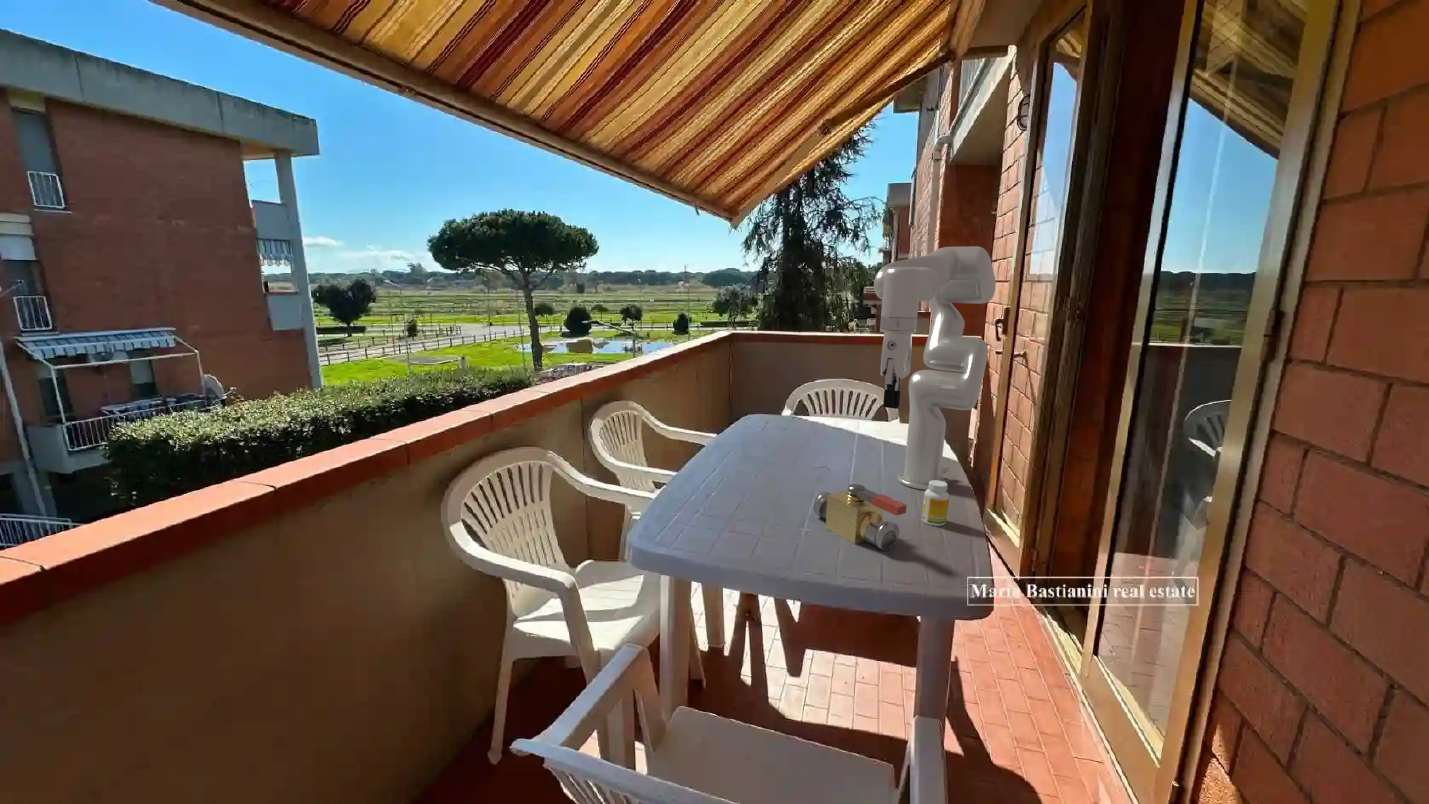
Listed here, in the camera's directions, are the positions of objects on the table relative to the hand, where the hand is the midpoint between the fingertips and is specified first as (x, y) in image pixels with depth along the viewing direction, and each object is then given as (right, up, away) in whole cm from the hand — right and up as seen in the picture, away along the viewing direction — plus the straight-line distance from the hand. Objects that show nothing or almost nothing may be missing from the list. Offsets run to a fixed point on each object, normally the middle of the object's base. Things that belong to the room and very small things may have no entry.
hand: (891, 407), depth 127 cm
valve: (-9, -28, -2) cm, 29 cm away
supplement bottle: (+11, -27, +5) cm, 30 cm away
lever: (-6, -20, -8) cm, 22 cm away
